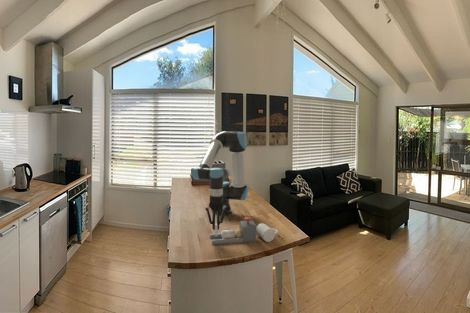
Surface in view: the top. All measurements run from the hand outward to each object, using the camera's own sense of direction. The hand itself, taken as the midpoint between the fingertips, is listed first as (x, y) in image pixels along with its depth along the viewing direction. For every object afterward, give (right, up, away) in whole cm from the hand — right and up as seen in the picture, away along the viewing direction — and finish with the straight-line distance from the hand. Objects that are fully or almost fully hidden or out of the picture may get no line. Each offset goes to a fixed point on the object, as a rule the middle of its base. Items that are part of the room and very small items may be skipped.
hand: (215, 234), depth 157 cm
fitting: (+7, -3, +2) cm, 8 cm away
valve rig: (+10, -4, +3) cm, 11 cm away
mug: (+31, -5, +8) cm, 33 cm away
